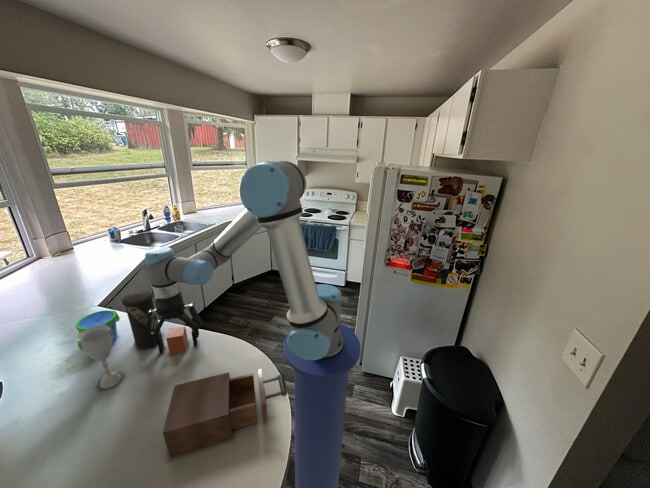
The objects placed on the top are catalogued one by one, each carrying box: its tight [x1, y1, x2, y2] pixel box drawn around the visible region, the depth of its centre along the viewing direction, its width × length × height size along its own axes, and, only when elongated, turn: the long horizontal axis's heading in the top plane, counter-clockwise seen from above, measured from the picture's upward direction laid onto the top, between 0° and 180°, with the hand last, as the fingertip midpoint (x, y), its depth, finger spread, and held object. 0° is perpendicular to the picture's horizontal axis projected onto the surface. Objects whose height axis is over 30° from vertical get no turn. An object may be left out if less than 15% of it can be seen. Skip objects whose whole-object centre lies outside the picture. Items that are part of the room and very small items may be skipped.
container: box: [121, 289, 163, 350], centre depth 88 cm, size 9×9×20 cm
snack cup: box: [75, 309, 121, 351], centre depth 89 cm, size 16×10×10 cm
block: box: [165, 325, 189, 355], centre depth 88 cm, size 5×5×7 cm
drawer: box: [229, 368, 288, 431], centre depth 68 cm, size 18×11×7 cm, turn 109°
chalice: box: [76, 325, 122, 389], centre depth 73 cm, size 7×7×18 cm
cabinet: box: [162, 371, 233, 458], centre depth 64 cm, size 14×13×9 cm
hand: (179, 347), depth 89 cm, fingers open, 10 cm apart
